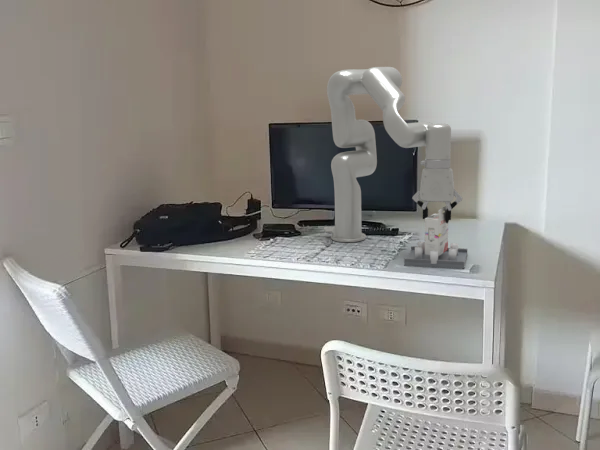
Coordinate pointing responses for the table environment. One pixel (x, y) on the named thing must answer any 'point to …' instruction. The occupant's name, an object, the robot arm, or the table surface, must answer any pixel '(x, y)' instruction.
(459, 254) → the tray
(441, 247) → the ink cartridge box
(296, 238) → the table surface
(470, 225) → the table surface
